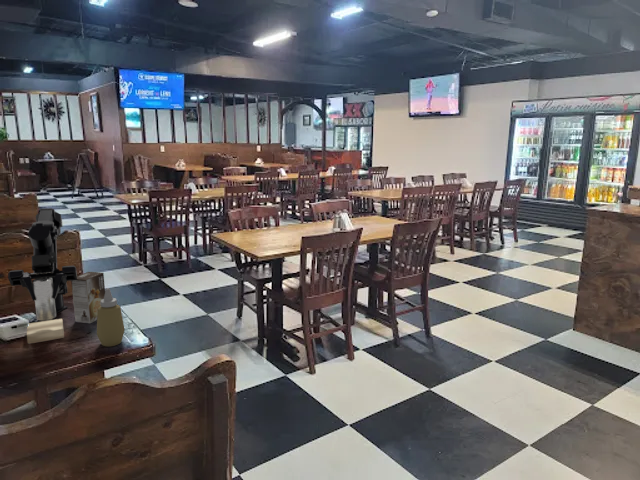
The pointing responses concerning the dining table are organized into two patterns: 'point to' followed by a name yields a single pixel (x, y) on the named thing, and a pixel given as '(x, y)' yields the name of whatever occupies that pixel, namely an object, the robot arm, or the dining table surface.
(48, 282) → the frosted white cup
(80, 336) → the dining table surface
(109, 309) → the squeeze bottle
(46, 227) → the robot arm
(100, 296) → the coffee box
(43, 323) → the block
